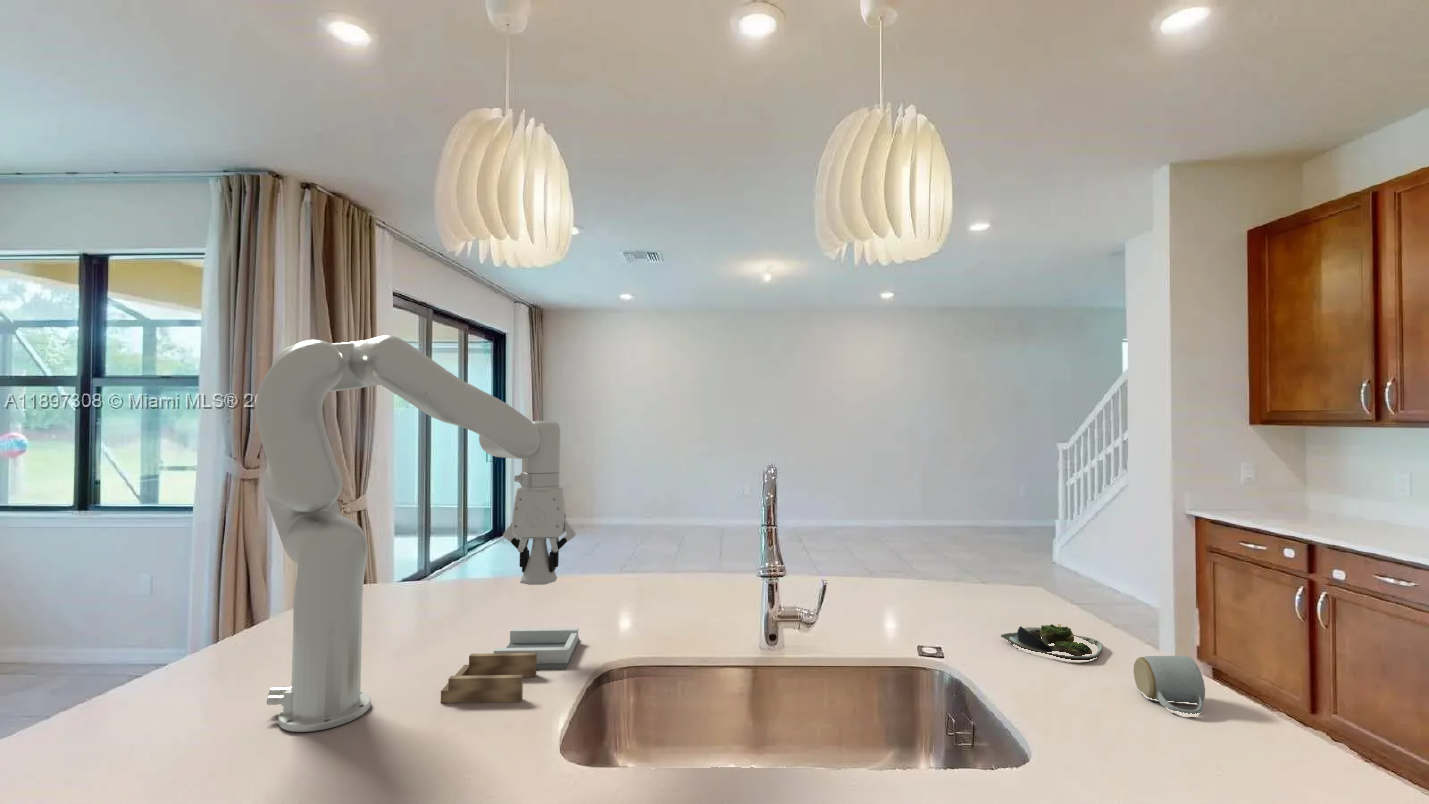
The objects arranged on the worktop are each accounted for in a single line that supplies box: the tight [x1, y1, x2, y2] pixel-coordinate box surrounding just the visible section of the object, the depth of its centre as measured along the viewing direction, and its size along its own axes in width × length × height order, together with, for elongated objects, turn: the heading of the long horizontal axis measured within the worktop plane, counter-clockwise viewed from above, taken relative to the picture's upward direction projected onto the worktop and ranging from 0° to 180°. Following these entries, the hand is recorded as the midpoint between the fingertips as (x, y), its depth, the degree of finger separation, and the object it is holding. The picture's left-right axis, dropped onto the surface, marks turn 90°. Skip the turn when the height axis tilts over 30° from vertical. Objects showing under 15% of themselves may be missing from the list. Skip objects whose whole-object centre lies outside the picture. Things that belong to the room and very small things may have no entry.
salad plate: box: [1000, 623, 1104, 660], centre depth 134 cm, size 19×18×5 cm
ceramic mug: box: [1133, 655, 1206, 714], centre depth 106 cm, size 11×8×8 cm
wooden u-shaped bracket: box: [440, 652, 537, 704], centre depth 110 cm, size 13×11×4 cm
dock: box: [493, 627, 580, 671], centre depth 127 cm, size 14×16×3 cm
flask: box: [519, 538, 558, 586], centre depth 127 cm, size 7×7×10 cm
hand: (539, 569), depth 127 cm, fingers closed on flask, 4 cm apart
